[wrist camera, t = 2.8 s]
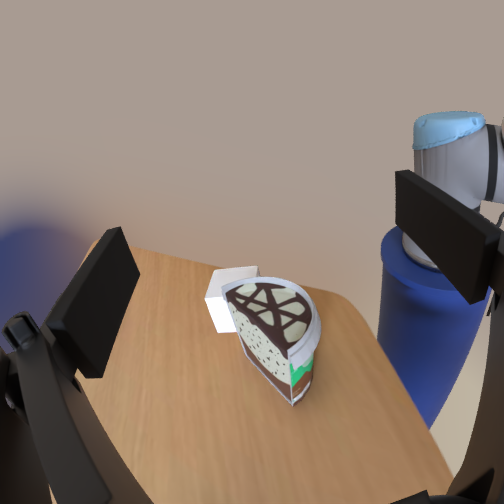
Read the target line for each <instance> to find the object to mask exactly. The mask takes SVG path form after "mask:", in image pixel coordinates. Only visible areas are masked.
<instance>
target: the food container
mask: <svg viewBox="0 0 504 504" xmlns="http://www.w3.org/2000/svg"><path fill="white" fill-rule="evenodd" d="M221 289H222V291H221V292H222V296H223V300H224V301H226V303H227V306H228V309H229V312H230V314H231V317H232V320H233V323H234V325H235V328H236V331H237V333H238V336H239V339H240V341H241V344H242V347H243V349H244V352H245V355H246V356H247V358H248V359H249V360H250V361H251V362H252V363H253V364H254V365H255V366H256V368H257V369H258V370H259V371H260V372H261V373H262V374H263V375H264V376H265V377H266V379H267V380H268V381H269V382H270V383H271V384H272V385H273V386H274V387H275V388H276V389H277V390H278V391H279V392H280V393H281V395H282V396H283V397H284V398H285V399H286V400H287V401H288V402H289V403H290V404H291V405H292V406H293V407H294V406H295V405H296V404H297V403H298V402H300V401H301V400H302V399H303V397H304V396H305V395H306V393H307V392H308V390H309V388H310V385H311V381H312V376H313V351H314V350H315V348H316V347H317V344H318V342H319V340H320V335H321V321H320V317H319V314H318V311H317V309H316V306H315V304H314V302H313V300H312V299H311V298H310V297H309V295H308V294H307V293H306V292H305V290H304V289H302V288H301V287H300V286H298V285H297V284H295V283H293V282H291V281H288V280H285V279H281V278H275V277H251V278H245V279H241V280H237V281H234V282H231V283H229V284H226V285H224V286H222V287H221Z"/></svg>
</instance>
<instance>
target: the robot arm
mask: <svg viewBox="0 0 504 504" xmlns="http://www.w3.org/2000/svg"><path fill="white" fill-rule="evenodd" d="M413 149H414V171H415V172H414V173H413V172H412V171H410V170H402V171H396V172H395V182H396V183H395V185H396V219H395V222H396V225H397V226H398V227H399V228H400V229H401V230H402V231H403V232H404V233H403V237H402V249H403V252H404V254H405V256H406V257H407V258H408V259H409V260H410V261H411V262H413V263H414V264H415V265H417V266H419V267H421V268H423V269H425V270H428V271H431V272H435V273H439V274H444V275H445V276H446V277H447V278H448V280H449V281H450V282H451V283H452V284H453V285H454V287H455V288H456V289H457V290H458V291H459V292H460V294H461V295H462V296H463V297H464V298H465V300H466V301H467V302H468V303H469V304H470V305H471V304H474V303H476V302H479V301H482V300H484V299H485V296H486V293H487V290H488V286H490V287H491V288H492V289H493V290H494V294H493V297H492V301H491V304H490V307H489V310H488V312H487V316H489V315H490V312H491V324H490V336H489V346H488V354H487V362H486V369H485V375H484V382H483V387H482V392H481V397H480V402H479V407H478V411H477V416H476V420H475V424H474V428H473V431H472V435H471V439H470V442H469V446H468V449H467V452H466V455H465V459H464V461H463V464H462V466H461V468H460V470H459V472H458V473H457V475H456V476H455V478H454V480H453V482H452V483H451V485H450V487H449V489H448V492H447V494H446V495H435V496H429V495H428V492H427V490H424V491H422V492H419V493H417V494H415V495H412V496H409V497H407V498H404V499H401V500H399V501H396V502H393V503H390V504H504V231H503V230H501V229H500V228H499V227H500V226H501V223H502V220H503V217H504V212H503V213H502V214H501V215H500V217H499V220H498V223H497V224H496V225H495V224H493V223H492V222H491V223H490V221H489V220H488V219H486V218H484V216H482V215H481V214H480V204H481V200H486V201H491V202H496V203H502V204H504V118H503V121H502V126H497V125H490V124H485V119H484V116H483V115H482V114H480V113H476V112H467V111H450V112H438V113H432V114H427V115H423V116H421V117H419V118H418V119H417V120H416V121H415V123H414V143H413ZM139 277H140V272H139V270H138V268H137V265H136V263H135V261H134V258H133V256H132V254H131V251H130V249H129V246H128V244H127V241H126V239H125V236H124V234H123V232H122V229H121V227H116V228H112V229H109V230H107V231H106V232H105V233H104V235H103V236H102V237H101V239H100V240H99V242H98V243H97V244H96V246H95V247H94V248H93V250H92V251H91V253H90V254H89V255H88V257H87V258H86V260H85V261H84V263H83V264H82V266H81V267H80V268H79V270H78V271H77V273H76V274H75V276H74V278H73V279H72V280H71V282H70V284H69V285H68V287H67V288H66V290H65V291H64V292H63V293H62V294H61V295H60V296H59V298H58V299H57V301H56V303H55V305H54V306H53V307H52V309H51V311H50V312H49V314H48V316H47V317H46V319H45V320H44V322H43V324H42V326H41V328H40V329H39V328H38V326H37V325H36V323H35V322H34V320H33V319H32V317H31V316H30V314H29V313H28V312H26V311H23V312H20V313H18V314H16V315H14V316H13V317H12V318H10V319H9V320H8V321H7V323H6V324H5V325H4V327H3V329H2V334H3V336H4V337H5V339H6V340H7V341H8V343H9V344H10V345H11V347H12V348H13V349H14V352H11V353H9V354H6V353H5V352H4V350H3V349H2V348H1V346H0V504H52V500H51V495H50V489H49V485H50V488H51V490H52V493H53V495H54V497H55V500H56V502H57V504H154V503H153V502H152V501H151V499H150V498H149V497H148V495H147V494H146V493H145V491H144V490H143V489H142V487H141V486H140V485H139V483H138V482H137V480H136V479H135V477H134V476H133V475H132V473H131V472H130V470H129V469H128V467H127V466H126V464H125V463H124V461H123V460H122V458H121V456H120V455H119V453H118V452H117V450H116V449H115V447H114V445H113V444H112V442H111V440H110V439H109V437H108V435H107V433H106V432H105V430H104V428H103V427H102V425H101V423H100V421H99V419H98V417H97V416H96V414H95V412H94V410H93V408H92V406H91V404H90V402H89V400H88V398H87V396H86V394H85V392H84V390H83V388H82V386H81V384H80V382H79V381H78V380H77V378H76V377H75V373H76V370H77V368H78V369H79V370H80V372H81V373H82V374H83V375H84V377H85V378H103V374H104V371H105V368H106V365H107V362H108V359H109V356H110V353H111V350H112V348H113V345H114V342H115V339H116V336H117V333H118V331H119V328H120V325H121V323H122V320H123V317H124V314H125V312H126V309H127V307H128V304H129V301H130V299H131V296H132V294H133V291H134V289H135V286H136V284H137V281H138V279H139ZM5 397H6V398H7V399H8V400H9V401H10V402H11V403H12V406H11V408H10V407H9V405H8V404H7V401H6V399H5Z"/></svg>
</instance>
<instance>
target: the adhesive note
mask: <svg viewBox="0 0 504 504" xmlns="http://www.w3.org/2000/svg"><path fill="white" fill-rule="evenodd" d="M251 277H260V273H259V269H258V265H256V266H247V267H238V268H228V269H219V270H214V273H213V275H212V278H211V281H210V284H209V287H208V290H207V293H206V296H205V300H206V303H207V306H208V308H209V311H210V314H211V316H212V319H213V322H214V324H215V327H216V330H217V332H218V333H223V332H237V331H236V328H235V325H234V323H233V320H232V317H231V314H230V312H229V309H228V306H227V303H226V301H224V300H223V296H222V292H221V291H222V289H221V287H222V286H224V285H226V284H229V283H231V282H234V281H237V280H241V279H245V278H251Z"/></svg>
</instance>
